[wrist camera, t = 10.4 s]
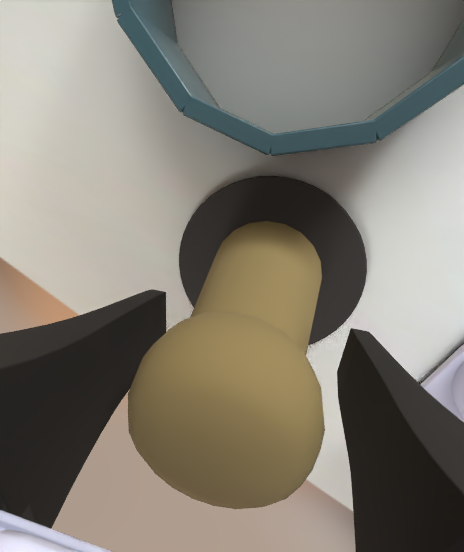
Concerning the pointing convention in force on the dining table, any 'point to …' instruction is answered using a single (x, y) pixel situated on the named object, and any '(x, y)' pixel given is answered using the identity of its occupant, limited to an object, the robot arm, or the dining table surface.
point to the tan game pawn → (237, 377)
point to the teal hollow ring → (202, 108)
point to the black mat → (296, 214)
